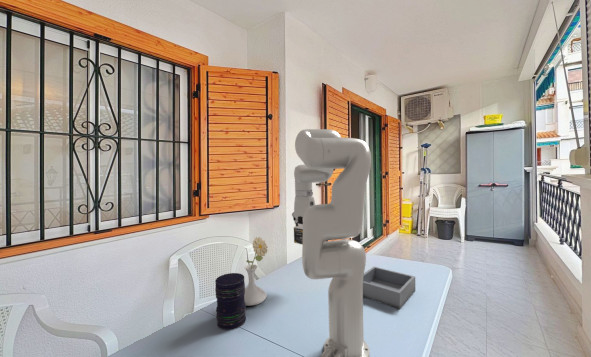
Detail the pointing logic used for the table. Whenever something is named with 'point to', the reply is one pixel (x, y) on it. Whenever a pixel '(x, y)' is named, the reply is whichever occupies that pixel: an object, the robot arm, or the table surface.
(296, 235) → the medicine bottle
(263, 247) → the flower in vase
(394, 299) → the bin
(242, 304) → the dark blue cylinder
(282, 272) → the table surface
